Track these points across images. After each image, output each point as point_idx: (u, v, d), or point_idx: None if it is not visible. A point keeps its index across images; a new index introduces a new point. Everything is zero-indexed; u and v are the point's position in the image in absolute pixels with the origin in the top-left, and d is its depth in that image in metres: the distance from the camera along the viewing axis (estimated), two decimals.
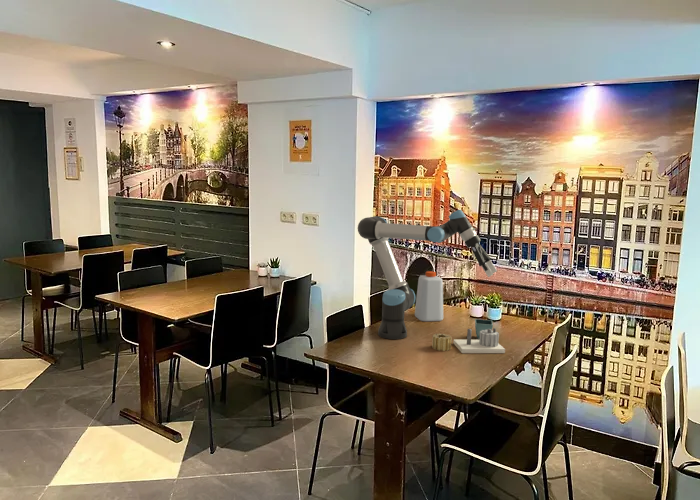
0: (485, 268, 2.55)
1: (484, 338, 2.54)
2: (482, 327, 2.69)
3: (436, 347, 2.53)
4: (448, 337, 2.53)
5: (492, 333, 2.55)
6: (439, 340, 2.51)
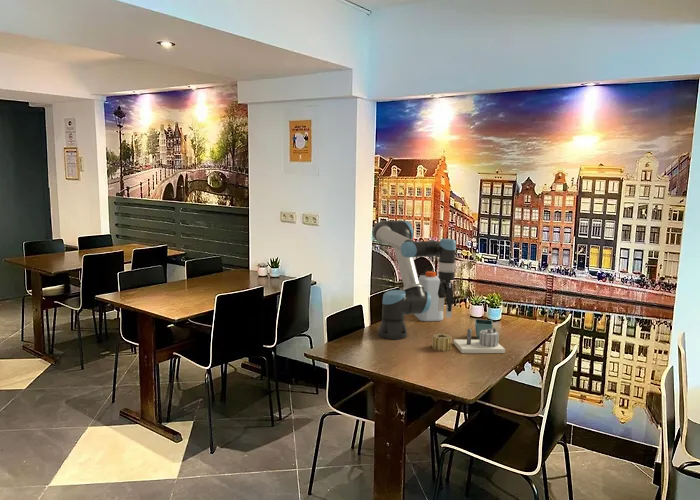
0: (449, 309, 2.45)
1: (484, 338, 2.54)
2: (482, 327, 2.69)
3: (436, 347, 2.53)
4: (448, 337, 2.53)
5: (492, 333, 2.55)
6: (439, 340, 2.51)
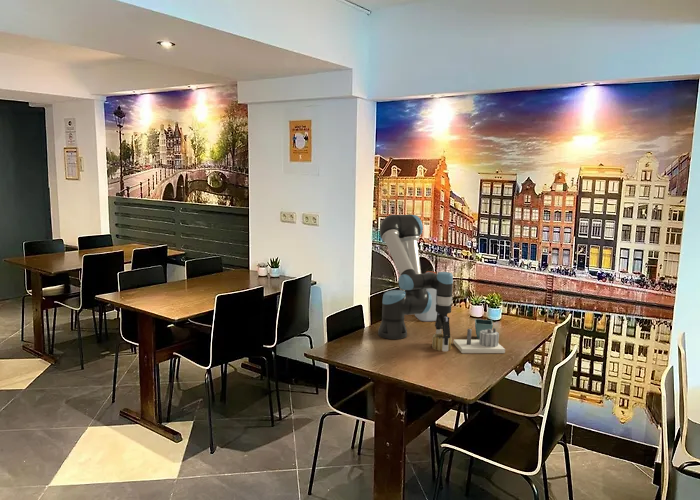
0: (446, 342, 2.47)
1: (484, 338, 2.54)
2: (482, 327, 2.69)
3: (436, 347, 2.53)
4: None
5: (492, 333, 2.55)
6: (439, 340, 2.51)
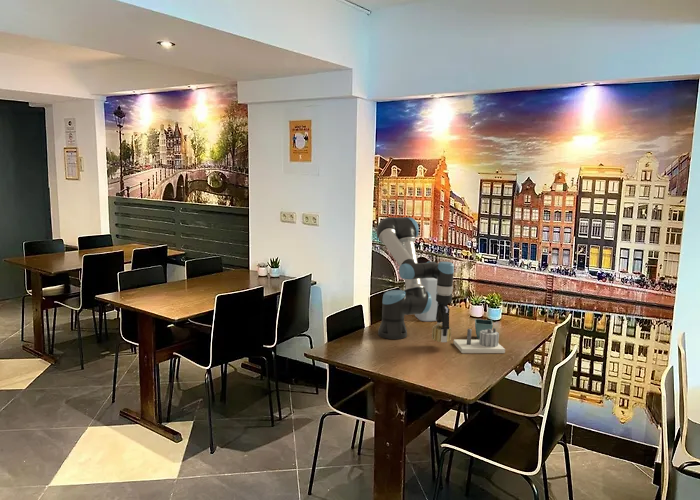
0: (445, 333, 2.49)
1: (484, 338, 2.54)
2: (482, 327, 2.69)
3: (436, 338, 2.53)
4: None
5: (492, 333, 2.55)
6: (439, 331, 2.51)
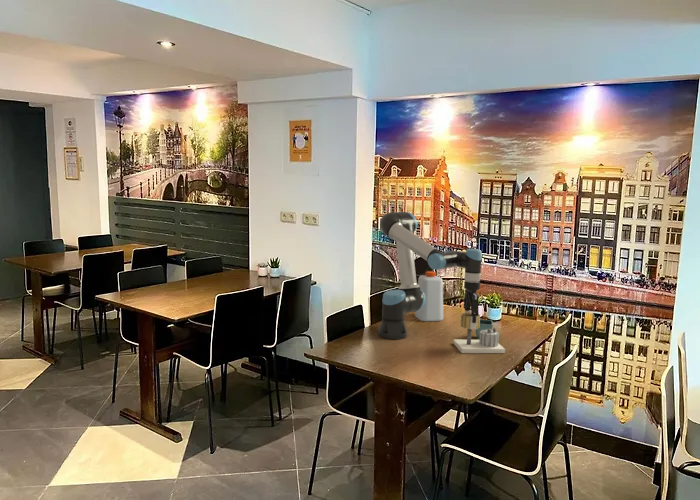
0: (474, 320, 2.48)
1: (484, 338, 2.54)
2: (482, 327, 2.69)
3: (465, 325, 2.52)
4: None
5: (492, 333, 2.55)
6: (468, 318, 2.51)
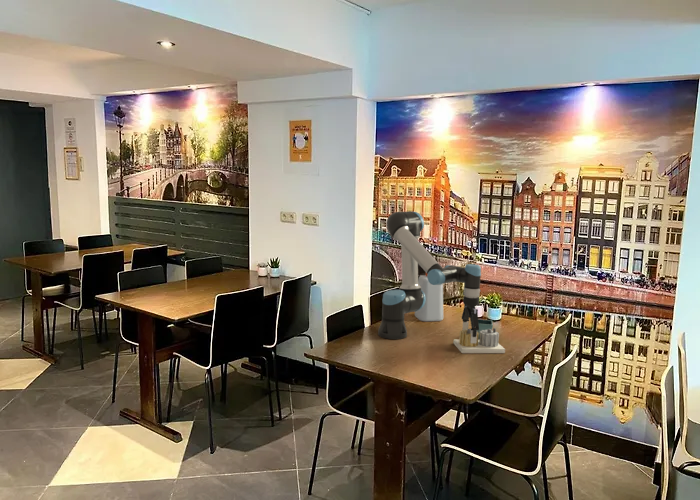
0: (474, 334, 2.47)
1: (484, 338, 2.54)
2: (482, 327, 2.69)
3: (463, 343, 2.54)
4: None
5: (492, 333, 2.55)
6: (467, 336, 2.52)
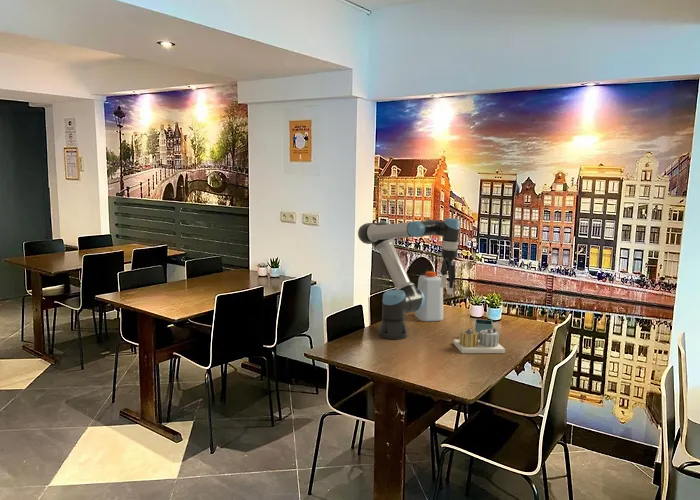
0: (451, 285, 2.55)
1: (484, 338, 2.54)
2: (482, 327, 2.69)
3: (463, 343, 2.54)
4: (475, 333, 2.54)
5: (492, 333, 2.55)
6: (467, 336, 2.52)
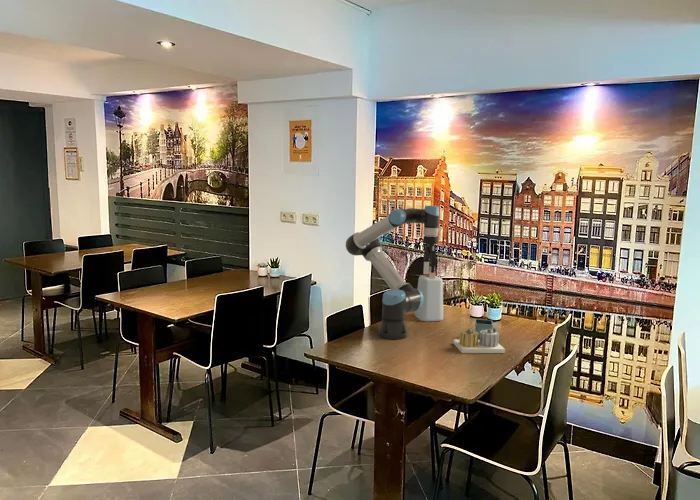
0: (433, 270, 2.63)
1: (484, 338, 2.54)
2: (482, 327, 2.69)
3: (463, 343, 2.54)
4: (475, 333, 2.54)
5: (492, 333, 2.55)
6: (467, 336, 2.52)
